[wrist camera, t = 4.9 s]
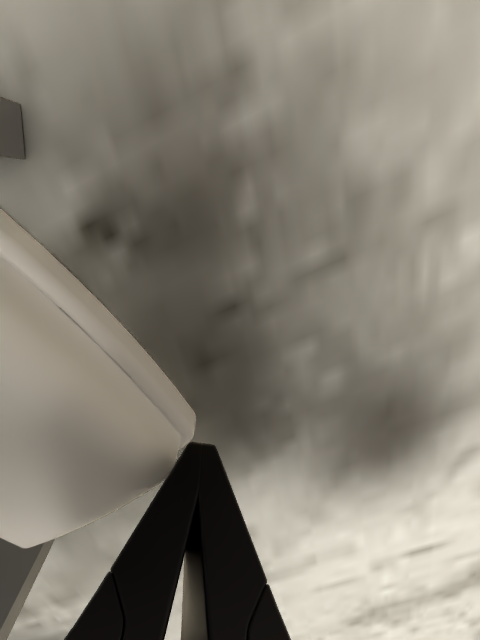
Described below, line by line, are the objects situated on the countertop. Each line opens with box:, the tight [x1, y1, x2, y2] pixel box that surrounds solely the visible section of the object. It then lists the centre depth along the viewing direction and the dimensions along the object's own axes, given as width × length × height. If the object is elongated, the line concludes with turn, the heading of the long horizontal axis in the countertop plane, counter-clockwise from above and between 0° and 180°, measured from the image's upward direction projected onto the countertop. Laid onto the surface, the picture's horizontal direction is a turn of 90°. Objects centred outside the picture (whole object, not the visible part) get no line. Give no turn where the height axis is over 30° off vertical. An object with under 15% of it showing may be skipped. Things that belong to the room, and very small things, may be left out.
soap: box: [0, 208, 196, 548], centre depth 8 cm, size 9×7×3 cm
